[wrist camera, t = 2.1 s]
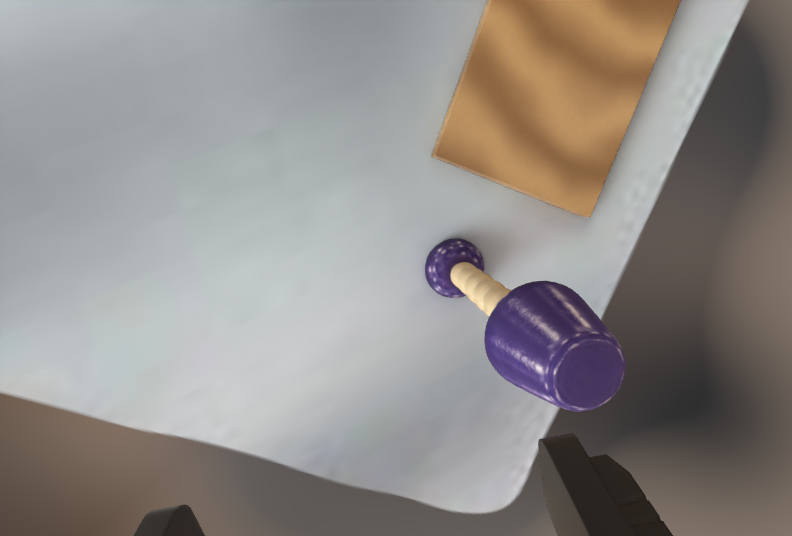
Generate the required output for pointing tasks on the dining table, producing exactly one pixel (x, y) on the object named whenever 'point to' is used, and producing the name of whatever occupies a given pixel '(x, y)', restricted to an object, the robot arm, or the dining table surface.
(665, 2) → the oak board
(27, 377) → the dining table surface
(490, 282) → the toy lamp
